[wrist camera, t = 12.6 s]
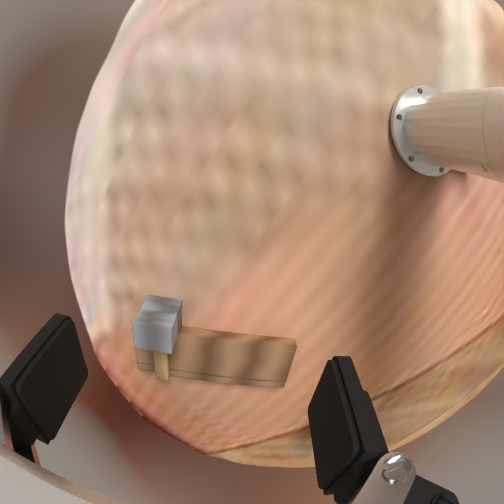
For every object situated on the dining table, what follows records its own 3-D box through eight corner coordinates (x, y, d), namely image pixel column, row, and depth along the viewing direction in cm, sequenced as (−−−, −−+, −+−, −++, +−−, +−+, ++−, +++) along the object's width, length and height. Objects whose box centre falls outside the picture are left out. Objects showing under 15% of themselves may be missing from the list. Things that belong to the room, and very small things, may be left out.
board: (294, 338, 42) (296, 347, 40) (282, 379, 45) (283, 387, 43) (136, 318, 40) (132, 325, 38) (140, 360, 43) (137, 368, 41)
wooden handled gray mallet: (182, 300, 39) (171, 329, 33) (181, 366, 44) (173, 397, 37) (148, 294, 39) (132, 322, 32) (152, 360, 43) (141, 390, 37)
